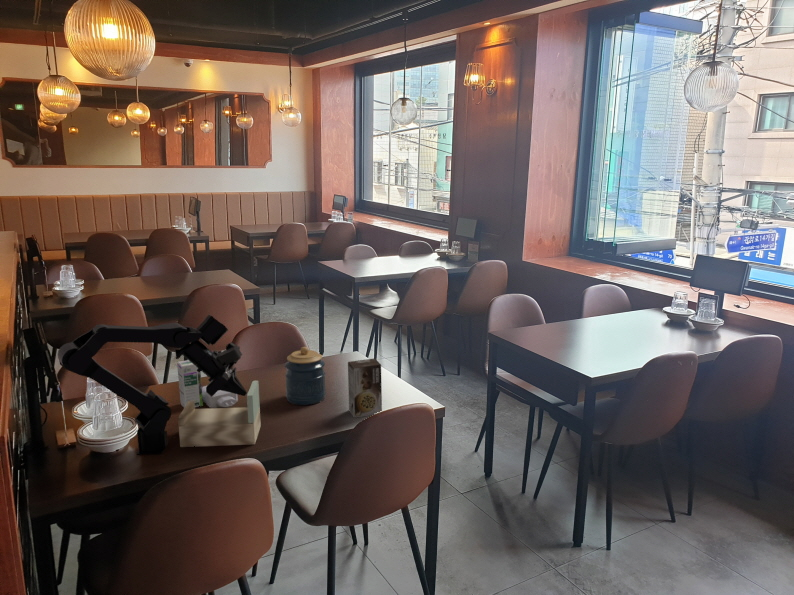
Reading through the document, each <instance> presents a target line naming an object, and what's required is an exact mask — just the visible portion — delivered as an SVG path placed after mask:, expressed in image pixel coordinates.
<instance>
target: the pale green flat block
mask: <svg viewBox="0 0 794 595" xmlns="http://www.w3.org/2000/svg"><path fill="white" fill-rule="evenodd" d="M259 386H260V385H259V380H252V382H251V385H250V387H249V390H248V392H247V394H246V403H247V406H246V407H248V423H254V421H255V419H256V416H257V413H258V410H259V407H260V408H261V406H260V387H259Z"/></svg>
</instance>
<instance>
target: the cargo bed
mask: <svg viewBox="0 0 794 595" xmlns="http://www.w3.org/2000/svg"><path fill="white" fill-rule="evenodd" d="M260 408H261V406H260V407H259V410H258V413H257V416H256V419H255V421H254V423H248V407H247V406H246V407H245V406H244V407H217V408H210V407H209V408H196V407H195V404H194V401H189V402H188V403H187V405H186V406H185V408H184V407H183V409H182V411H181V412H180V414H179V416H178V417H177V420H178V421H177V422H178V436H179V446H180V448H187V447H191V448H193V447H194V446H195V447H215V446H216V447H217V446H219V447H220V446H242V445H249V446H250V445H256V441H257V439H258V436H259V433H260V429H261V427H262V426H261V425H262V424H261V413H260V412H261V409H260Z"/></svg>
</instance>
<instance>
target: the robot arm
mask: <svg viewBox="0 0 794 595" xmlns="http://www.w3.org/2000/svg"><path fill="white" fill-rule="evenodd" d="M228 331H229V329H228V327H227V326H225V324H224V323H222V322H220V321H219V320H217V319H216V318H215V317H214V316H213V315H211V314H208V315H206V317H205V318H204V320H203V321H202V322H201V323H200V324H199V325H198V326H197V327H196V328H194V327H193V326H183V325H181V323H178V322H171V323H169V322H168V323H163V324H158V325H155V326H154V325H152V326H140V325H139V326H138V325H109V324H104V323H99V324H97V325H95V326H94V327H92V328H91V329H90V330H89V331H88V330H87V331H86V332H85V333H83V334H82V335H79V336H78V337H77V338H75V339H74V340H73V341H71V342H66V343H65V344H63V345H61V346H60V348H59V349H58V352H57V359H58V360H59V362H60V363H61V365H62V367H63V368H64V369H65V370H66V371H69V372H71V373H73V374H76V375H79V376H82V377H86V378H89V379H92V380H93V381H94V382H96V383H98V384H99V385H101V386H103V387H104V388H106V389H107V390H109V391H110V392H112V393H114V394H116V396H118V397H120V398H121V399H123V400H124V401H126V402H128V403H129V404H131V405H132V406H134V407H135V408H136V409H137V410H138V411H139V412H138V414H137V415H136V417H135V418H134V421H135V423H136V425H137V426H138V427H139V428H138V429H137V430H136V433H137V434H136V435H137V445H138V450H137V452H136V455H137V456H142V455H143V456H144V455H145V456H146V455H162V454H163V452H164V451H165V450H166V448H167V446H168V445H169V442H168V431H167V430H166V427H167V423H168V421H170V419H171V418H172V409H171V407H169V405H170V403H169V402H168V401H167V400H166V399H165V398H164V397H163V396H162V395H158V394H156V393H155V392H154V391H153V390H152V389H149V391H148V392H147V393H146V392H144V391H141V390H139V389H138V388H136V387H134V386H133V385H132V384H130V383H129V382H127V381H125V380H124V379H122V378H121V377H119V376H118V375H116V374H115V373H114V372H112V371H111V370H109V369H108V368H105V367H104V366H103V365H101V364H100V363H98V362H97V360H96V359H94V358H93V357H95V356H96V354H98V352H99V351H100V350H101V349H102V348H103V346H104V345H106V344H107V343H139V344H141V343H144V344H145V343H146V344H147V343H148V344H149V343H150V344H151V343H152V344H157V345H162V346H165V347H169V348H175V349H174V353H175V359H176V360H179V359H180V358H181V357H182V356H183V357H184V358H185V359H187V360H189V361H190V362H191V363H193V364H194V365H195V366H196V367H197V368H198V369H197V371H198V372H199V373H200V372H202V373H203V374H204V375H206V376H207V377H208V384H207V385H206V386H207V387H206V393H208V394H209V395H210V396H211V397H212V396H213V395H214V394H215V393H216V392H217V391H219V390H221V391H226V392H230V393H234V394H238V395H239V396H243V397H245V396H247V394H248V392H247V390H246V389H245V387H244V386H243V384H242V382H240V380H239V378H238V375H237V367H234V368H233V369H231V368H232V367H233V366H234V365H236V364H237V363H238V362H239V360H241V357H242V356H243V353H242V352H241V350H240V348H241V347H240V346H238V344H234V342H229V343H227V344H226V346H225V349H224V350H223V351H220V352H219V351H217V350H210V348H208V347H207V346H215V345H216V344H217V343H218V342H219V341H220V339H222V337H223V336H224V335H225V334H226V333H227V332H228ZM200 340H201V341H202V342H203V343H202V342H201V341H200ZM205 344H206V345H207V346H206V345H205Z"/></svg>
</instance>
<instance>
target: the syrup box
mask: <svg viewBox="0 0 794 595" xmlns="http://www.w3.org/2000/svg"><path fill="white" fill-rule="evenodd" d="M176 364H177V366H176V367H177V368H176V369H177V377H178V387H179V399H180V400H179V402H180V405H181V407H183V409H184V408H185V406H186V405H187V403H188V402H189V401H194V404H195V408H200V407H203V406H204V401H203V397H202V387H203V386H202V373H201V372H202V371H201V372H200V373H199V372H198V371H197V369H198V368H197V367H196V366H195V365H194V364H193V363H191V362H190V361H189V360H188V359H187V360H183V361H177V363H176ZM199 406H200V407H199Z"/></svg>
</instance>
